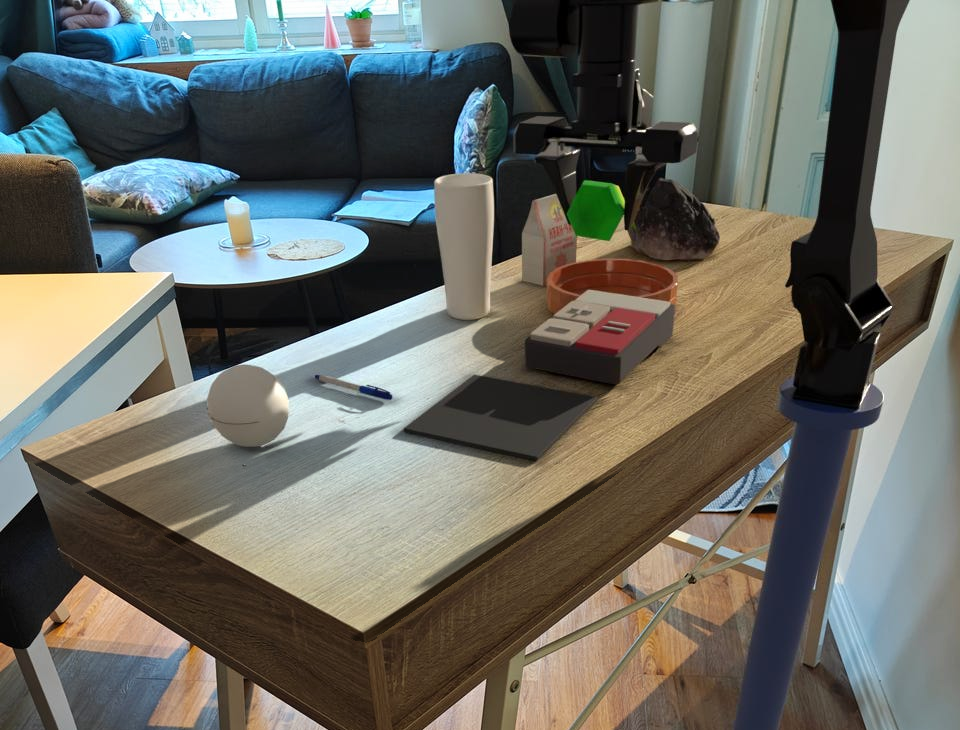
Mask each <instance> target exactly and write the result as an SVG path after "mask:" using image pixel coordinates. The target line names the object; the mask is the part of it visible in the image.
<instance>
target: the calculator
mask: <svg viewBox="0 0 960 730" xmlns="http://www.w3.org/2000/svg"><path fill="white" fill-rule="evenodd" d="M675 309H676V305H674V304H670V302H667V301H660V300H654V299H647V298H641V297H634V296H627V295H621V294H614V293H608V292H601V291H595V290H587V291H586V292H584V293H583V294H582V295H581V296H579V297H578V298H577V299H576V300H574V301H571V302H570V303H568V304H567V305H566V306H565V307H563V308H562V309H561V310H560V311H558V312H557V313H556V314H554V313H553V316H552V317H551V318H548V319H547V320H545V321H544V322H543V323H542V324H541V325H539V326H538V327H537V328H535V329H534V330H533V331H531V332H530V334H529V335H528V336H527V337H526V338H525V339H524V364H525V367H527V368H529V369H534V370H540V371H545V372H550V373H555V374H560V375H565V376H570V377H575V378H580V379H584V380H585V379H586V380H591V381H595V382H601V383H605V384H609V385H610V384H611V385H619V384H620V383H622V381H624V380H625V378H627V377H628V376H629V375H630V373H632V372H633V371H634V370H635V369H636V368H637V367H638V366H639V365H640V364H641V363H642V362H643V361H644V360H645V359H646V358H647V357H648V356H649V355H650V354H651V353H652V352H653V351H654V350H655V349H656V348H659V349H660V348H662V347H663V346H664V345H665V344H667V342H668V341H669V340H670V339H671V338H672V337H673V335H674V334H673V333H674V322H675V314H676V313H675V312H676V310H675Z"/></svg>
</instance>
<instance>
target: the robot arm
mask: <svg viewBox="0 0 960 730" xmlns="http://www.w3.org/2000/svg"><path fill="white" fill-rule="evenodd" d="M659 1H660V0H514V2H513V5H512V9H511V13H510V16H509V17H508V33H509V34H508V35H509V38H510V42H511V44H512V47H513V49H514V51H515V52H516V53H518V54H519V55H520V56H523V57H539V58H541V57H542V58H564V59H565V58H566V59H567V58H569V59H570V58H571V57H573V56H574V55H575V54H576V53H577V73H574V74H572V76H571V77H572V81H571V83H572V84H571V85H572V87H573V88H576V119H575V120H572V121H571V126H569V123H568V121H567V119H566V117H565V116H546V115H544V116H543V115H537V116H534V117H531V118H528V119H526V120H523V121H521V122H519V123H517V125H516V126H515V129H514V132H513V135H512V146H513V147H512V148H513V149H512V150H513V153H514V154H518V155H519V154H520V155H531V156H532V155H534V158H533V161H534V164H538V165H541V166H542V168H543V170H544V172H545V174H546V177H547V178H548V180H549V182H550V184H551V186H552V188H553V190H554V192H555V194H556V195H557V197H558V200H559V202H560V205H561V207H562V210H563V212H564V215H565V217H566V220H567V222H568V224H569V225H571V223H570V221H569V219H568V216H567V212H568V210H569V208H570V206H571V204H572V202H573V200H574V198H575V196H576V194H577V165H578V161H579V157H580V153H581V149H580V148H585V149H586V148H587V149H604V150H620V151H634V154H635V155H634V156H635V159H634V160H633V161H631V162H629V163H627V164H626V169H625V186H624V198H625V204H624V215H623V223H624V231H627V232H628V230H630V229H631V228H632V225H633V223H634V220H635V218H636V215H637V212H638V210H639V207H640V204H641V202H642V199H643V196H644V194H645V191H646V189H647V187H649V185H650V182H651V181H652V179H653V177H654V175H655V174H656V172H657V171H658V170H659V169H661V168H662V167H664V166H665V165H667V164H680V163H682V162H683V161H685V160H687V159H689V158H690V157H692V156H693V155H695V154H697V151H698V150H697V149H698V148H697V147H698V139H699V133H698V129H697V128H696V126H695V124H694V123H693V122H683V121H681V122H680V121H678V122H677V121H659V122H657V123H655V124H653V125H651V126H650V121H651V114H652V108H653V103H654V96H653V95H652V94H651V93H649V92H648V91H647V90H646V89H645V88H642V87H641V84H640V68H639V67H636V58H637V57H636V56H637V54H636V53H637V42H638V41H637V40H638V39H637V38H638V23H639V22H638V21H639V8H640V7H639V6H640V5H646V4H654V3H658V2H659ZM910 1H911V0H830V3H831V8H832V12H833V16H834V19H835V24H836V28H837V45H836V46H837V48H836V54H835V62H834V71H833V80H832V88H831V97H830V106H829V114H828V121H827V122H828V123H827V130H826V131H827V132H826V139H825V148H824V155H823V156H824V157H823V164H822V173H821V184H820V189H819V191H820V192H819V199H818V207H817V208H818V209H817V214H816V219H815V222H814V225H813V227H812V229H811V231H809V232H808V233H806V234H804V235H802V236H800V237H798V238H797V239H794V240H793V241H792V242H791V243H790V250H789V256H790V257H789V258H790V271H789V276H788V278H787V280H786V282H785V284H784V286H785V288H790V287H791V290H790V296H791V297H790V298H791V303H792V307H793V308H794V309H795V310H796V311H797V312H798V313H799V315H800V321H801V328H802V334H803V335H802V336H803V340H804V341H803V343H802V345H801V346H800V348H799V350H798V356H797V361H796V367H795V371H794V376H793V377H794V381H793V386H794V387H797V388H796V390H795V392H794V393H793V399H796V400H801V401H807V402H813V403H819V404H825V405H831V406H837V407H843V408H849V409H859V408H860V406H861V404H862V402H863V400H864V398H865V396H866V394H867V391H868V389H869V387H870V383H871V382H870V381H869V380H870V377H871V373H872V369H873V366H874V361H875V357H876V352H877V349H878V346H879V341H880V337H881V332H879V331H877V330H878V329H879V328H882V327H883V326H885V324H886V323H887V322H888V320H889V319H890V317H891V316H892V314H893V312H895V308H896V307H895V305H894V303H893V301H892V300H891V298H890V297H889V295H888V293H887V292H886V290H885V289H884V287H883V285H882V284H881V283H880V281H879V279H878V239H877V235H876V231H875V228H874V224H873V223H874V222H873V219H872V213H871V212H872V210H871V207H872V200H873V195H874V187H875V182H876V181H875V180H876V174H877V167H878V160H879V154H880V149H881V148H880V147H881V142H882V134H883V128H884V127H883V126H884V121H885V115H886V114H885V113H886V107H887V100H888V95H889V88H890V82H891V81H890V80H891V73H892V67H893V61H894V53H895V47H896V40H897V33H898V29H899V26H900V23H901V21H902V19H903V17H904V14H905V12H906V10H907V7H908V5H909V3H910Z"/></svg>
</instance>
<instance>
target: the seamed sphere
mask: <svg viewBox="0 0 960 730" xmlns="http://www.w3.org/2000/svg"><path fill="white" fill-rule="evenodd" d="M206 403H207V408H206V410H207V415H208V416H209V418H210V419H209V420H207V421H206V422H204V423H203V424H202V425H200V426H199V427H197V428H195V429H194V430H193V432H196V431H198V430H199V429H200V428H202V427H204V426H205V425H206V424H207V423H209V422H211V423H212V425H213V428H214V429H215V430H216V431H217V432H218V433H219V434H220V435H221V437H223V438H224V439H225V440H227V441H229V442H231V443H232V444H234V445H237V446H240V447H245V448H246V447H247V448H255V447H261V446H264V445H267V444H270V443H271V442H274V441H275V440H276V439H277V438H278V436H279V435H280V434H281V433H283V431H284V430H285V428H286V425H287V422H288V419H289V416H290V401H289V397H288V394H287V391H286V389H285V387H284V386H283V384H282V383H281V381H280V379H278V377H277V376H276V375H274V374H273V373H272V372H270V371H268V370H266V368H263V367H262V366H256V365H252V364H245V363H244V364H237V365H234V366H232V367H229V368H227V369H225V370H223V371H222V372H220V373H219V374H218V375H217V377H216V378H214V380H213V382H212V384H211V385H210V387H209V391H208V395H207V398H206Z"/></svg>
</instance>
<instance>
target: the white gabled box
mask: <svg viewBox="0 0 960 730" xmlns="http://www.w3.org/2000/svg"><path fill="white" fill-rule="evenodd" d="M577 245H578V236H576V235H575V233H574V230H573V228H572V226H571V225H569V224H568V222H567V220H566V217H565V215H564V212H563V210H562V207H561V205H560V202H559V200H558V197H557V195H556V193H554V194H551V195H547V196H544V197H540V198H537V199H534V200H532V201H531V206H530V210H529V213H528V217H527V219H526V221H525V224H524V227H523V229H522V232H521V281H522V282H526V283H530V284H534V285H538V286H542V287H544V286H547V278H548V275H549V273H551V272H552V271H553V270H555V269H556V268H558V267H561V266H564V265H567V264H570V263H574V262H577V247H578V246H577Z"/></svg>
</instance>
